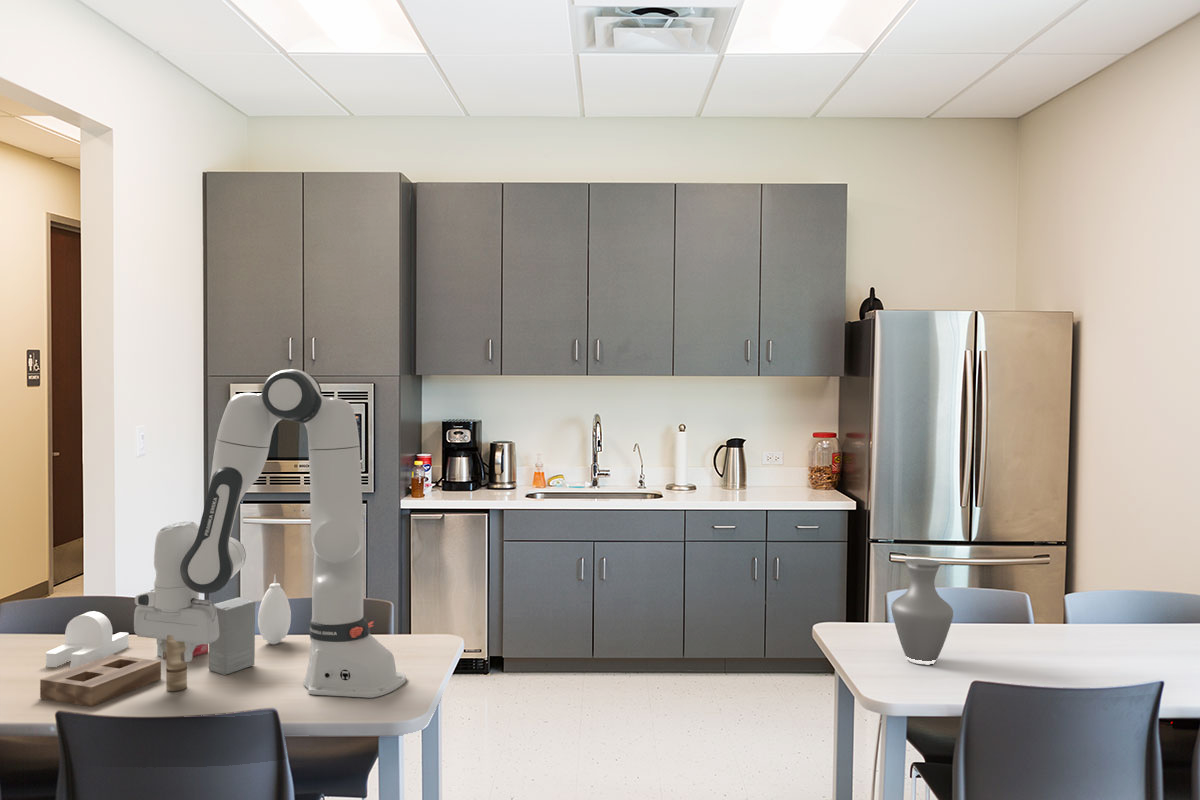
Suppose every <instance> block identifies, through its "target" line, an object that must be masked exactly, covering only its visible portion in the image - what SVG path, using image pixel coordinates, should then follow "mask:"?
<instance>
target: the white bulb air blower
mask: <svg viewBox="0 0 1200 800" xmlns="http://www.w3.org/2000/svg"><path fill="white" fill-rule="evenodd" d="M273 576H274V577H273V582H272V583H270V584H269V586H268V587H269V588H268V589H267V590H266V592H265V593H264V596H263V597H262V600H261V603H260V606H259V609H258V615H257V626H258V631H259V634H260V636H261V637H262V639H263V640H265V641H266V642H267V643H268V644H270V645H278V644H279V643H280V642H282V641H283V639H285V638H286V637H287V636H288V635H287V634H288V633H289V631H290V627H291V622H292V621H291V619H292V611H291V606H290V602H289V600H288V599H289V598H288V596H287V594H286V593H285V591H284V589H283V588H282V587H281V584H280V583H278V582H277V578H276V577H277V575H276V574H274V575H273Z"/></svg>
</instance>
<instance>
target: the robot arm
mask: <svg viewBox="0 0 1200 800" xmlns="http://www.w3.org/2000/svg"><path fill="white" fill-rule="evenodd" d="M319 383H320V382H318V380H317V379H316V378H315V377H313V375H311V374H309V373H307V372H305V371H303V370H300V369H290V368H289V369H282V370H279V371H276V372H274V373H272V374H271V375H270V376H269V377H267V379H266V381H265V382H264V384H263V387H262V391H261V393H254V392H243V393H238V394H236V395H233V396H232V397H230V399H229V400H228V402H227V405H226V407H225V409H224V412H223V415H222V418H221V420H220V423H219V427H218V430H217V435H216V439H215V444H214V451H213V456H212V457H213V458H212V465H211V473H210V480H209V486H208V492H207V495H206V496H207V497H206V500H205V503H204V507H203V512H202V515H201V518H200V524H199V525H198V523H197V522H194V521H182V522H176V523H173V524H169V525H167V526H165V527H163V528H161V529H160V530H159V531H158V532H157V534H156V536H155V537H156V538H155V543H154V553H153V554H154V555H153V560H154V561H153V566H154V570H155V574H156V575H155V580H154V583H153V589H151V590H149V591H146V592H143V593H140V594H137V595H136V596H135V597H134V604H135V605H136V607H135V609H134V614H133V631H134V634H135V635H136V637H139V638H147V639H156V645H158V647H159V649H160V651H161V656H160V658H161V660H166V640H167V635H170V636H173V638H174V640H175V641H180V642H185V647H187V648H186V650H185V653H182V654H181V661H182V662H187V663H189V662H192V660H193V657H192V652H193V651H194V649H195V648H196V646H197V644H205V645H206V644H208V645H209V644H210V643H212V642H215V641H216V640H217V639H218V638H219V623H218V616H217V612H216V606H215V605H214V604H215V603H213V602H212V600H210V599H200V594H212V593H216V592H218V591H220V590H222V589H223V588H224V587H225V586H226V585H227V584H228V582H229V581H230V580H231V579H232V578H233V577H234V576H235V575H236V574H238V572H239V571H240V570H241V569H242V567H244V565H245V563H246V557H247V555H246V550H245V547H244V545H243V544H242V542H241V541H240V540H238V539H237V538H235V537H233V536H232V532H233V527H234V523H235V519H236V514H237V512H238V508H239V505H240V503H241V500H242V499H243V497H244V496H245V494H246V493H247V492H248V490H249V489H250V488H251V487H252V486H253V485H254V483H256V481H258V479H259V477H260V476H261V474H262V472H263V471H264V470H263V469H264V467H265V464H266V462H267V459H268V455H269V451H270V446H271V441H272V436H273V431H274V429H275V427H276V425H277V424H278V423H279V422H280V421H282V420H287V421H292V422H295V423H300V424H303V425H304V426H305V429H306V433H307V447H308V464H309V465H308V466H309V483H310V484H309V487H310V488H309V491H310V495H309V496H310V500H309V501H310V502H309V505H310V511H309V512H310V540H311V541H310V542H311V545H312V548H313V566H312V567H313V571H312V572H313V573H312V585H311V586H312V589H311V590H312V593H311V594H312V595H311V597H312V599H311V609H312V610H311V613H312V614H311V619H310V620H309V639H310V650H309V651H310V652H309V659H308V666H307V669H306V673H305V677H304V680H303V686H305V688H307V693H308V694H310V695H313V696H314V695H316V696H317V695H318V696H332V697H348V698H349V697H354V698H369V699H370V698H373V699H374V698H378V697H382V696H384V695H386V694H387V695H388V694H389V693H391V692H393V691H395V690H397V689H398V688H401V686H403V685H404V684H405V683H406V680H407V679H406V678H407V677H406V674H405V673H404V672H403V673H402V672H399V671H397V668H396V661H395V656H394V654H393V652H391V650H389V649H388V648H386V647H385V646H384V645H383V644H382V643H381V642H379V641H378V640H377V639H376V638H375V637H374V636H373V635H372V634H371V631H370V628H372V627H374V626H375V625H374V620H373V621H370V622H368V621H367V619H366V618H365V616H364V577H365V576H364V567H365V566H364V565H365V564H364V563H365V559H364V558H365V523H364V514H363V513H364V510H363V489H362V488H363V487H362V468H361V467H362V465H361V447H360V435H359V434H360V433H359V427H358V422H357V417H356V414H355V410H354V406H353V405H352V404H350V402H349V401H347V400H345V399H342V398H338V397H326V396H324V395H323V394H322V388H321V386H320V384H319Z"/></svg>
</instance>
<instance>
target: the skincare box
mask: <svg viewBox="0 0 1200 800" xmlns="http://www.w3.org/2000/svg"><path fill="white" fill-rule="evenodd" d="M213 604H214V605H215V606H216V612H217V616H218V623H219V638H218V639H217V640H216V641H215V642H212V643H210V644H208V669H209V671H211V672H215V673H218V674H219V675H223V676H226V675H230V674H232V673H236V672H238V671H241V670H243V669H247V668H249V667H253V666H254V665H255V657H256V655H255V650H256V649H255V648H256V647H255V645H256V642H255V641H256V638H255V636H256V601H254V600H252V599H247V598H245V597H239V596H238V597H235V598H231V599H227V600H224V601H221V602H217V603H213Z"/></svg>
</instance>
